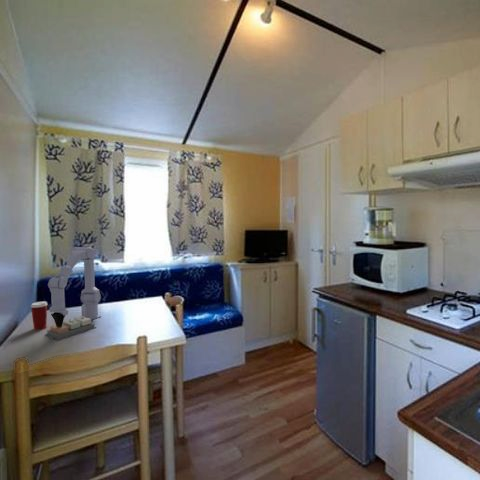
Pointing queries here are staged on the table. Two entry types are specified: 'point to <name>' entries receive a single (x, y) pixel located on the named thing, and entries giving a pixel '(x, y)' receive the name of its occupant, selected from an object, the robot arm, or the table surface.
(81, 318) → the key one
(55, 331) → the key three
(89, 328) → the keypad board
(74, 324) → the key two
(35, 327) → the paper cup
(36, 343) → the table surface
